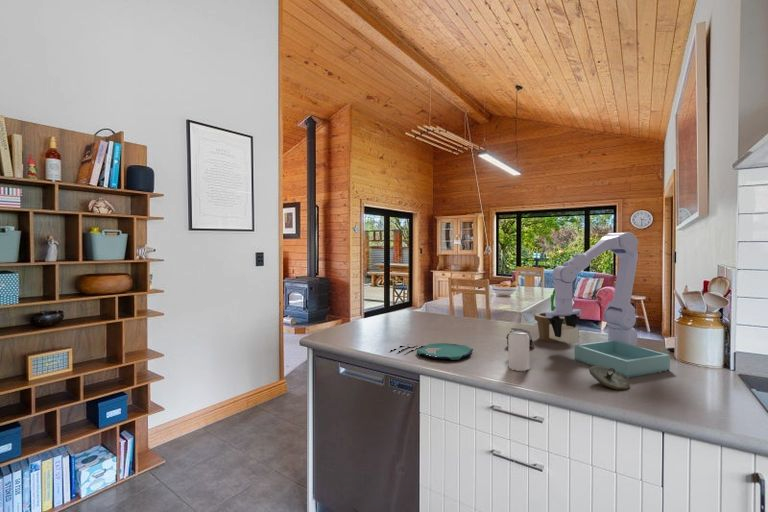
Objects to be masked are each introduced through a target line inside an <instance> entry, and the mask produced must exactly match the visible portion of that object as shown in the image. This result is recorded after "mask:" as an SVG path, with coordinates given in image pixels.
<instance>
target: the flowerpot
mask: <svg viewBox="0 0 768 512" xmlns="http://www.w3.org/2000/svg"><path fill="white" fill-rule="evenodd" d="M554 309H555V287H554V289H553V291H552V294H551V295H550V311H553V310H554ZM546 312H547V311H543V312H541V311H540V312H536V313H534V314H533V315H534V316H533V318H534V321H536V322H537V323H536V324H537V329H538V337H539V339H540V340H541V341H543V342H548V343H562V342H561V341H558V340H555V339H552V338H549V325H550V324H551V323H550V321H549V320H548V318H547V317H546ZM559 318H560V319H563V323H562V324H564V325H566V321H565V318H564V316H562V317H559Z"/></svg>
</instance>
